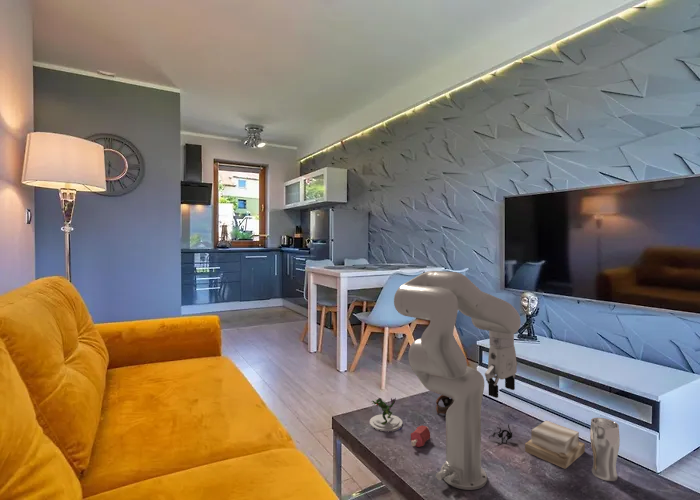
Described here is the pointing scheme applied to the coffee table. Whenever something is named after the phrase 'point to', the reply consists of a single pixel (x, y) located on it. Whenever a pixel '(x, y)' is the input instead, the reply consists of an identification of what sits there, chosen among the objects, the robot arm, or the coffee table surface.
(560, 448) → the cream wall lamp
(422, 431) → the meat
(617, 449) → the beer glass
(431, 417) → the coffee table surface
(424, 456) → the coffee table surface
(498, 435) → the creature
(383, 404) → the monster figurine
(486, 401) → the coffee table surface
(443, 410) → the pottery mug
